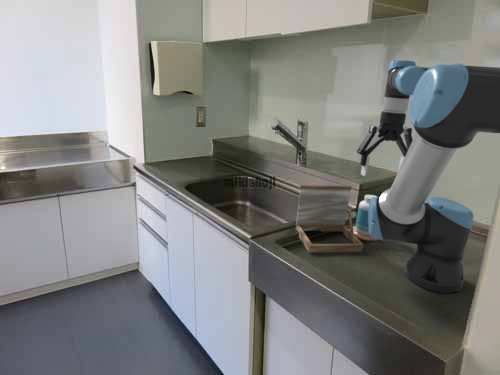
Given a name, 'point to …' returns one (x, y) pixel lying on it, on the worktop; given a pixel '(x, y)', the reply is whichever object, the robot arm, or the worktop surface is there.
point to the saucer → (363, 236)
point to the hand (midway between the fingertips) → (382, 175)
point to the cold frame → (326, 216)
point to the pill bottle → (363, 216)
